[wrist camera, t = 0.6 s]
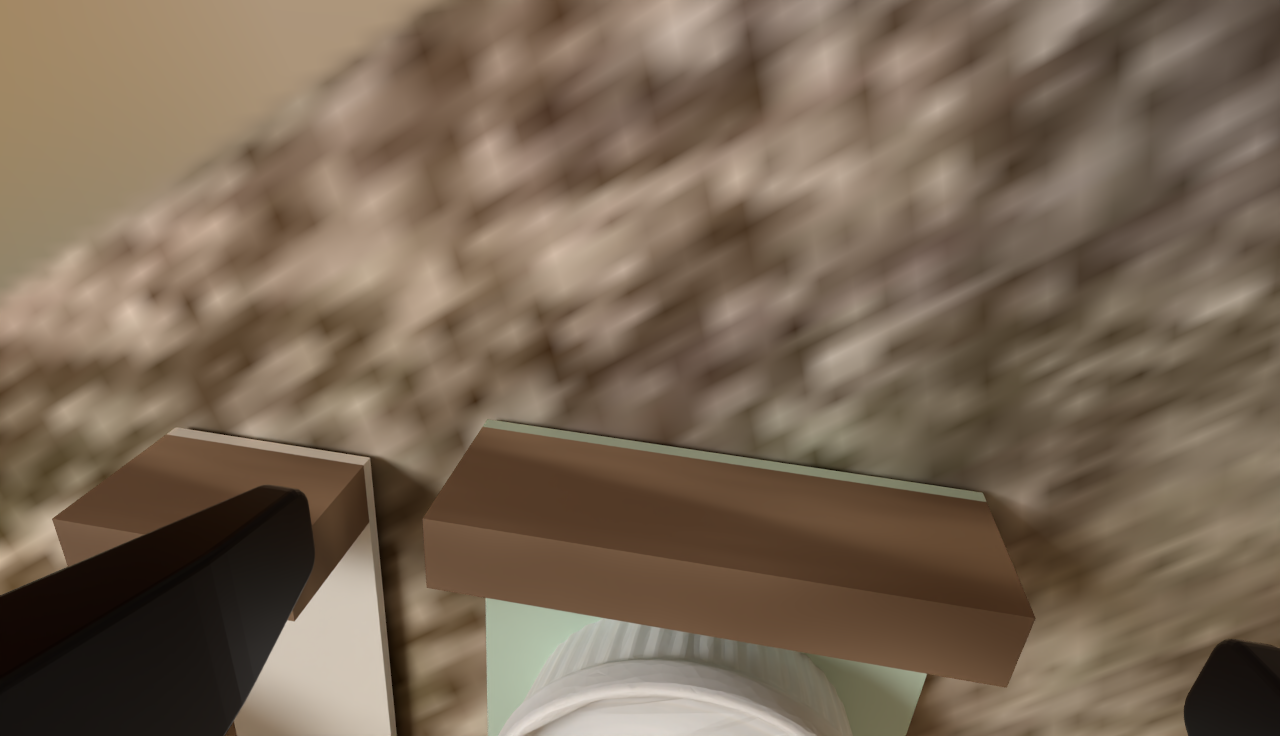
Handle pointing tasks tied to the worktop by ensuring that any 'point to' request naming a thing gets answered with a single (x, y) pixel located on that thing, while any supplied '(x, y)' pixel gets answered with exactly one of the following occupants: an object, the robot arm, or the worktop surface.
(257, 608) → the robot arm
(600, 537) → the wooden handled dough scraper
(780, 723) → the ramekin
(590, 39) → the worktop surface
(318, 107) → the worktop surface
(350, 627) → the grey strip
